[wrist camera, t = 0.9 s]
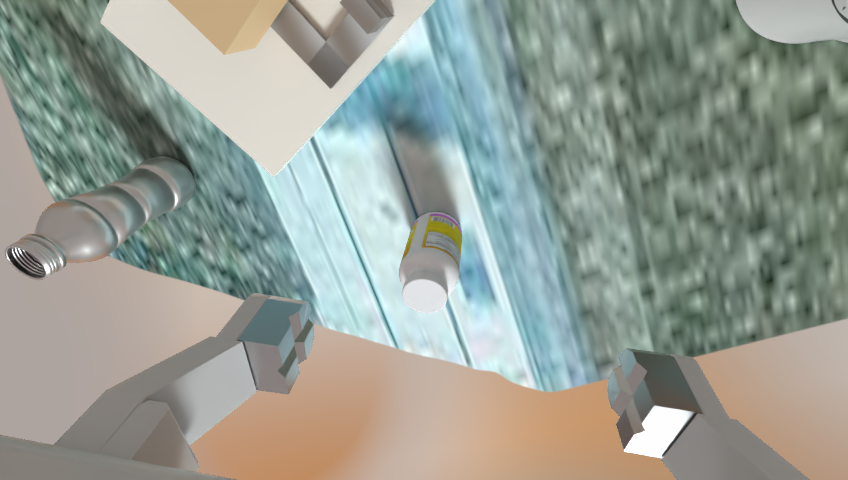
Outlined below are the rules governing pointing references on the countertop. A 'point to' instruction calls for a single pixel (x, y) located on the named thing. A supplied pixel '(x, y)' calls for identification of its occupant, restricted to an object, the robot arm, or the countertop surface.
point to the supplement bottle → (431, 262)
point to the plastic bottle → (101, 218)
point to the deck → (250, 64)
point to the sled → (333, 36)
